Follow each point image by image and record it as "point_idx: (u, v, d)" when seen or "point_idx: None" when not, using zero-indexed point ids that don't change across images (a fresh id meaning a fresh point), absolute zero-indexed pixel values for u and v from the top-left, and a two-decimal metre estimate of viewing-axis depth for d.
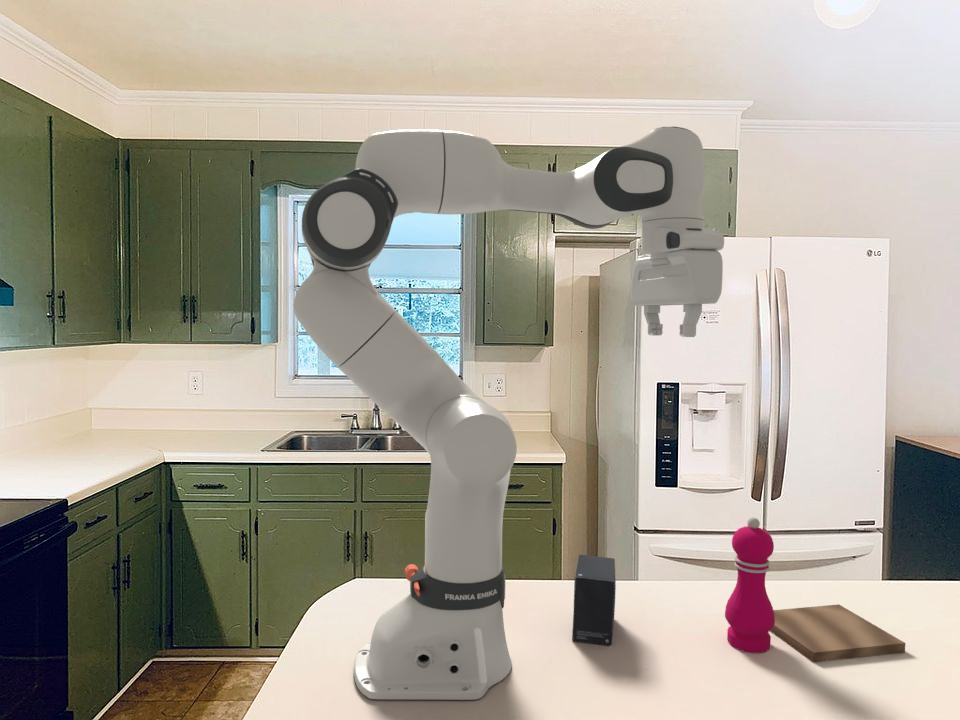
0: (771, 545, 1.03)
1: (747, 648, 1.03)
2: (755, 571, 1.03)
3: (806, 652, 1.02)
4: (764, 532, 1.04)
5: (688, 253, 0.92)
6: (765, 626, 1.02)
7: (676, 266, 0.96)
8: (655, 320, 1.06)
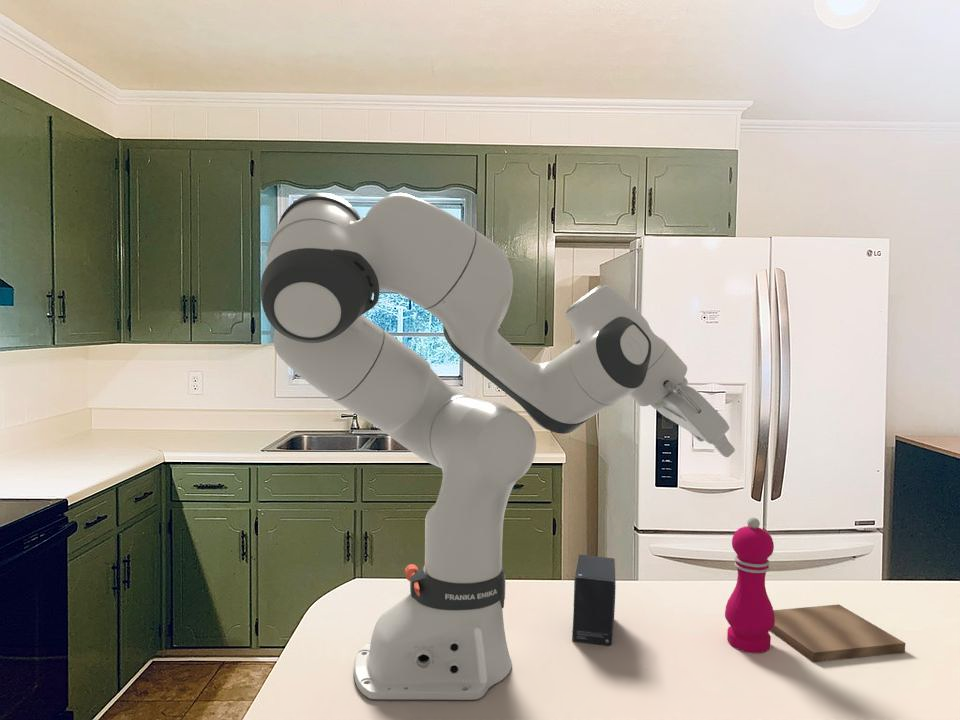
0: (771, 545, 1.03)
1: (747, 648, 1.03)
2: (755, 571, 1.03)
3: (806, 652, 1.02)
4: (764, 532, 1.04)
5: None
6: (765, 626, 1.02)
7: None
8: None
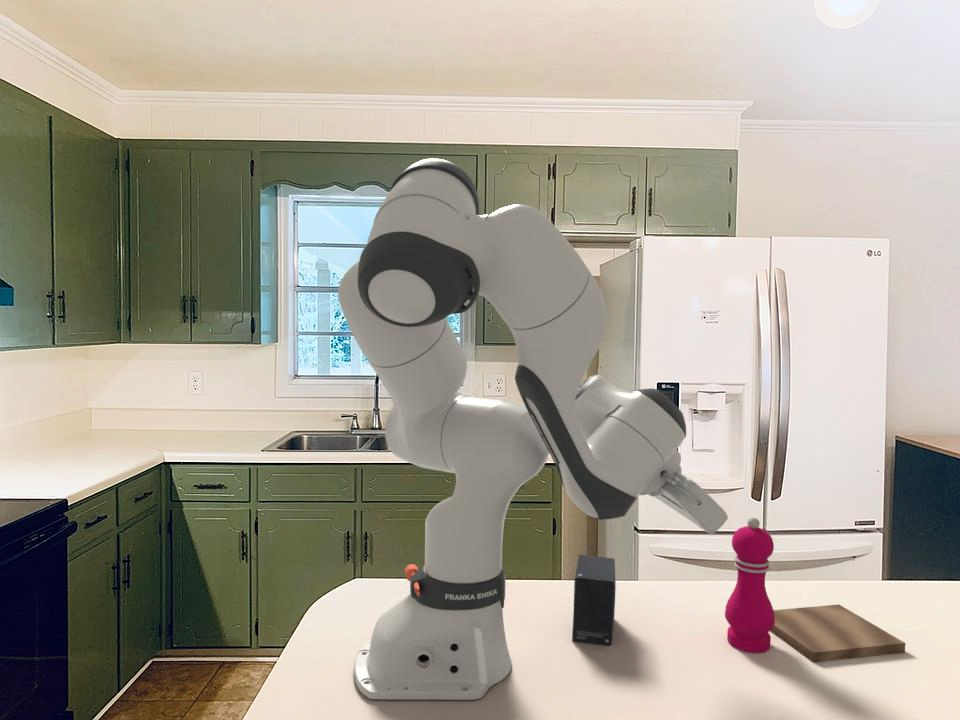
0: (771, 545, 1.03)
1: (747, 648, 1.03)
2: (755, 571, 1.03)
3: (806, 652, 1.02)
4: (764, 532, 1.04)
5: None
6: (765, 626, 1.02)
7: None
8: None
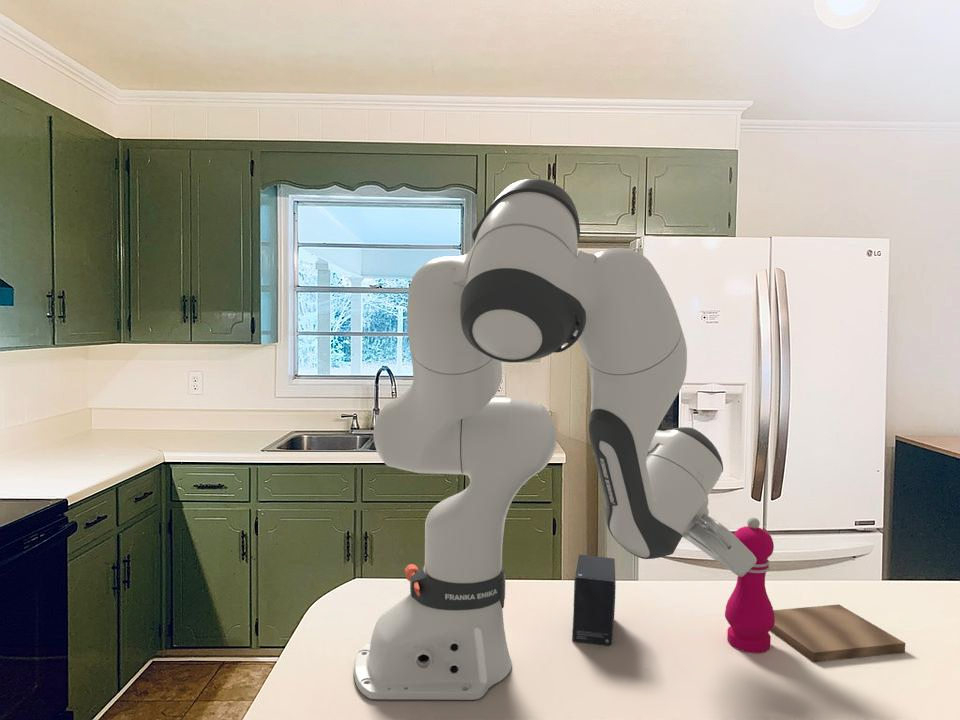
0: (771, 545, 1.03)
1: (747, 648, 1.03)
2: (755, 571, 1.03)
3: (806, 652, 1.02)
4: (764, 532, 1.04)
5: None
6: (765, 626, 1.02)
7: None
8: None
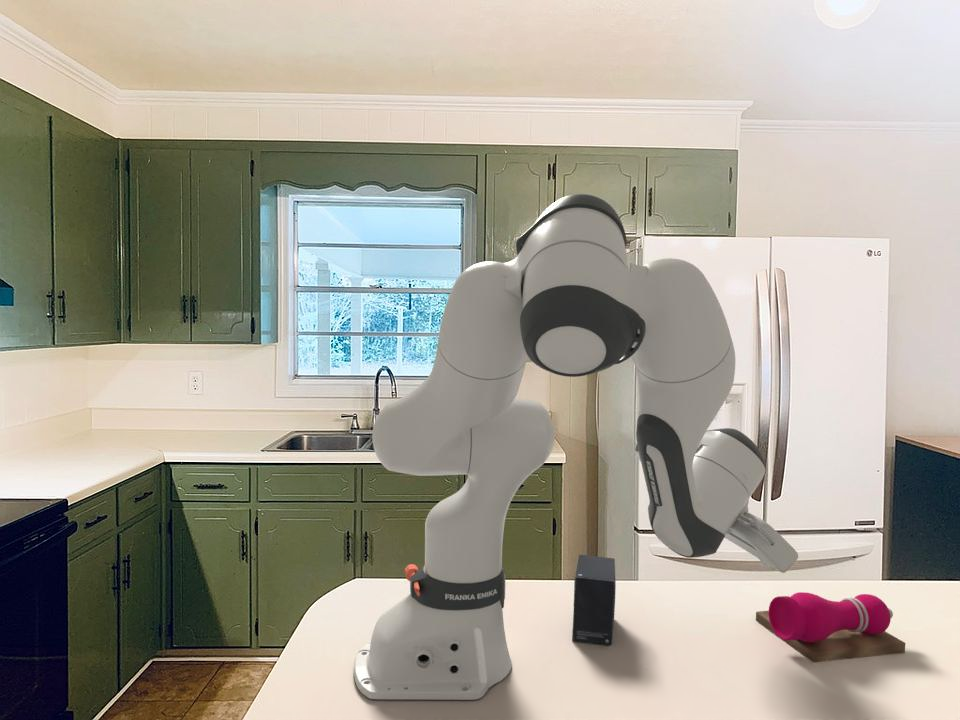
0: None
1: (797, 632, 1.00)
2: (860, 629, 1.04)
3: (806, 652, 1.02)
4: None
5: None
6: None
7: None
8: None
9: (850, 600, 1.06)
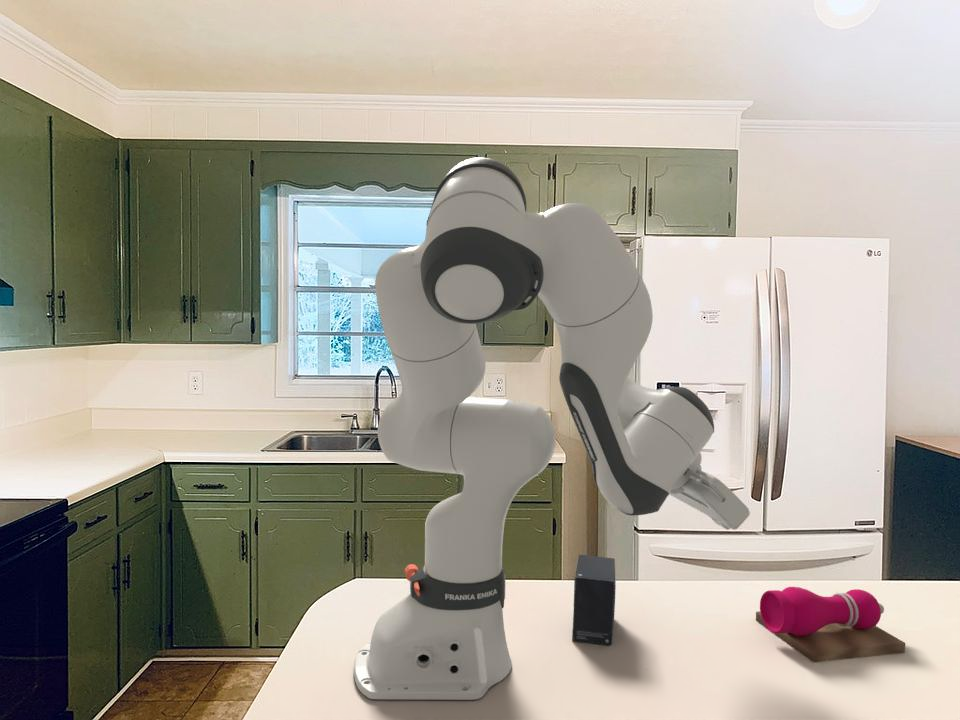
0: (871, 627, 1.07)
1: (787, 613, 1.03)
2: (852, 615, 1.05)
3: (806, 652, 1.02)
4: None
5: None
6: (810, 628, 1.03)
7: None
8: None
9: (834, 594, 1.09)
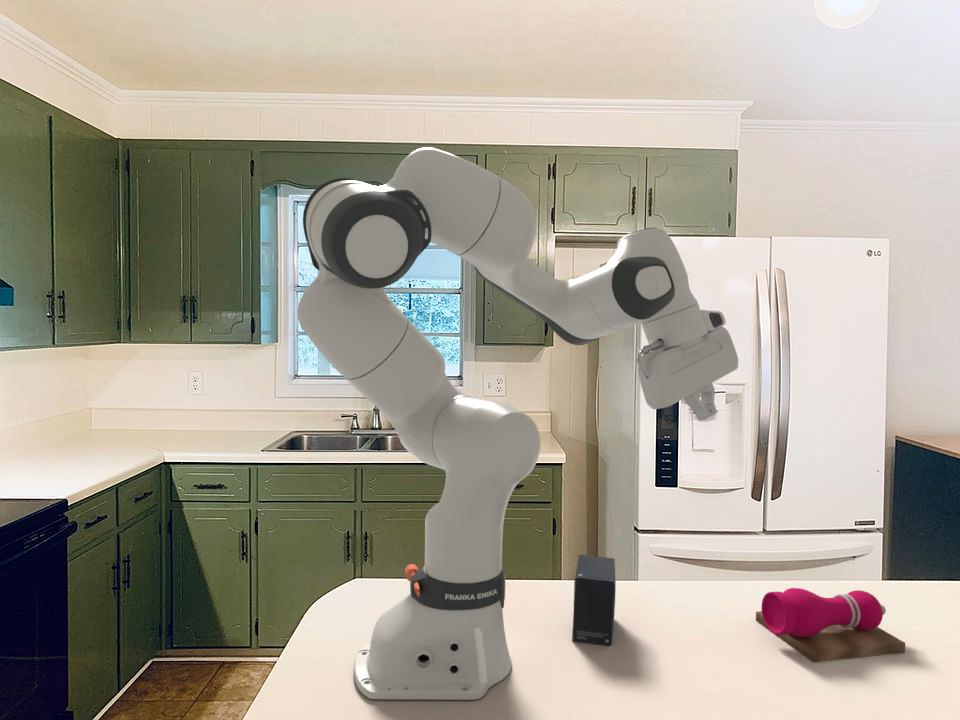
0: (871, 629, 1.07)
1: (790, 617, 1.02)
2: (854, 618, 1.05)
3: (806, 652, 1.02)
4: None
5: (725, 329, 1.07)
6: (811, 631, 1.03)
7: (707, 346, 1.04)
8: None
9: (837, 595, 1.08)
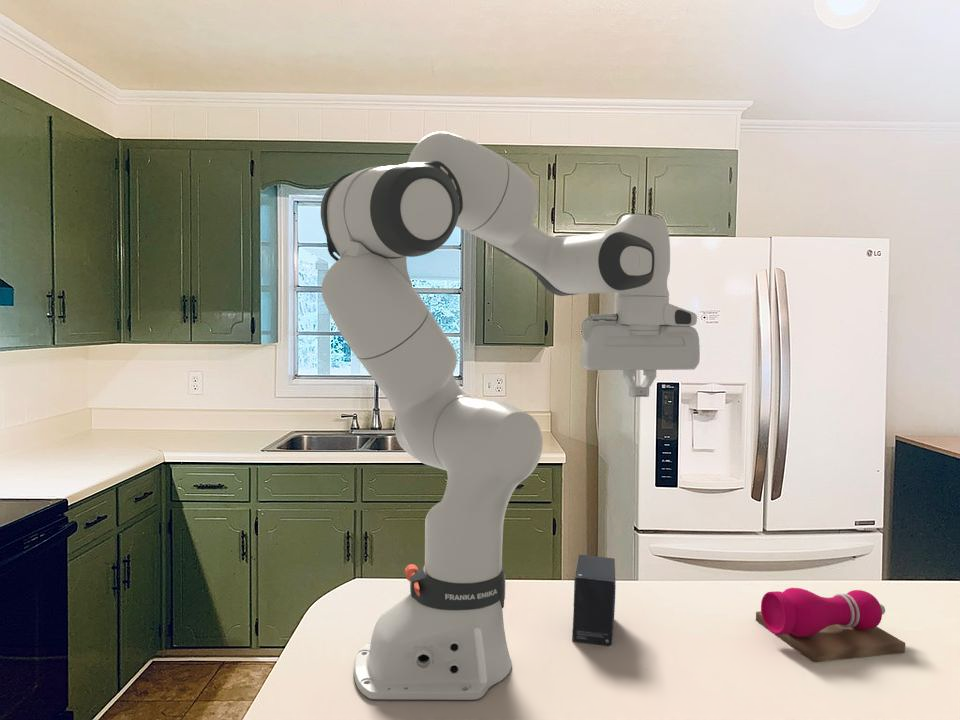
0: (871, 628, 1.07)
1: (789, 616, 1.02)
2: (854, 617, 1.05)
3: (806, 652, 1.02)
4: None
5: (695, 330, 1.13)
6: (810, 630, 1.03)
7: (666, 338, 1.13)
8: None
9: (836, 595, 1.09)
